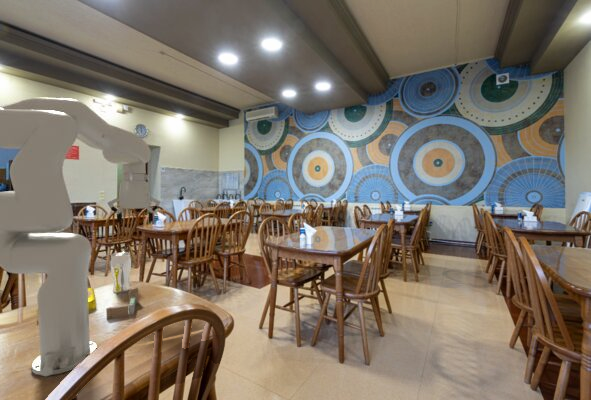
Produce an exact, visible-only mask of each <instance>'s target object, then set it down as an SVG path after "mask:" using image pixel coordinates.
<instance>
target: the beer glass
mask: <svg viewBox="0 0 591 400" xmlns="http://www.w3.org/2000/svg"><path fill="white" fill-rule="evenodd" d="M131 270H132V259H131V252H130V251H120V252H114V253H111V255H110V271H111V275H112V280H113V288H112V292H113V293H114V294H122V293H126V292H129V291H128V290H129V288H131V284H130V275H131Z"/></svg>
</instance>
